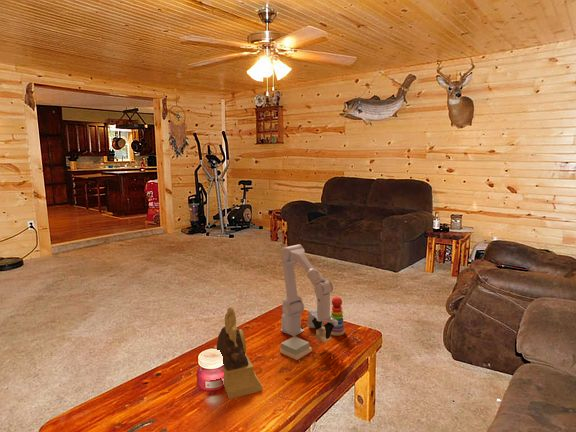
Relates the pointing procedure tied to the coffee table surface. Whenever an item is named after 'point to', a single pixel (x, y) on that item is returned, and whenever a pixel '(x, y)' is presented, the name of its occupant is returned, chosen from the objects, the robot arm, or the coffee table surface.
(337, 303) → the stacking toy
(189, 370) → the coffee table surface
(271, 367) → the coffee table surface
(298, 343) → the top slab
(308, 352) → the bottom slab
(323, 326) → the medicine box
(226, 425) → the coffee table surface
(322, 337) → the ash cube
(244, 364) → the seated figure statue
